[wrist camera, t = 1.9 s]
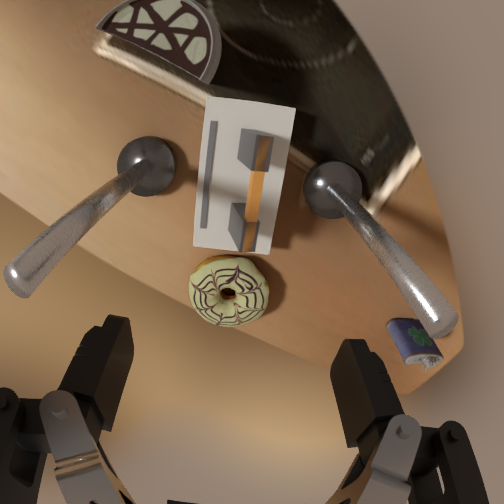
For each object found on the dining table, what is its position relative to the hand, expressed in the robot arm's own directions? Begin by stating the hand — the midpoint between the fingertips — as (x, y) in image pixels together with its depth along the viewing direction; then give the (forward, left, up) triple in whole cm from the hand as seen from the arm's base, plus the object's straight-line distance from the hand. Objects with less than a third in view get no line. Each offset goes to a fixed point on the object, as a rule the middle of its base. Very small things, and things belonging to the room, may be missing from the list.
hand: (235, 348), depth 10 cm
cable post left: (-11, 0, -26) cm, 28 cm away
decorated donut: (0, -16, -27) cm, 31 cm away
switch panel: (0, 0, -26) cm, 26 cm away
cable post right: (+11, 0, -26) cm, 29 cm away
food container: (-8, +15, -26) cm, 31 cm away
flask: (+32, -21, -26) cm, 47 cm away
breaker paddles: (0, 0, -23) cm, 23 cm away
